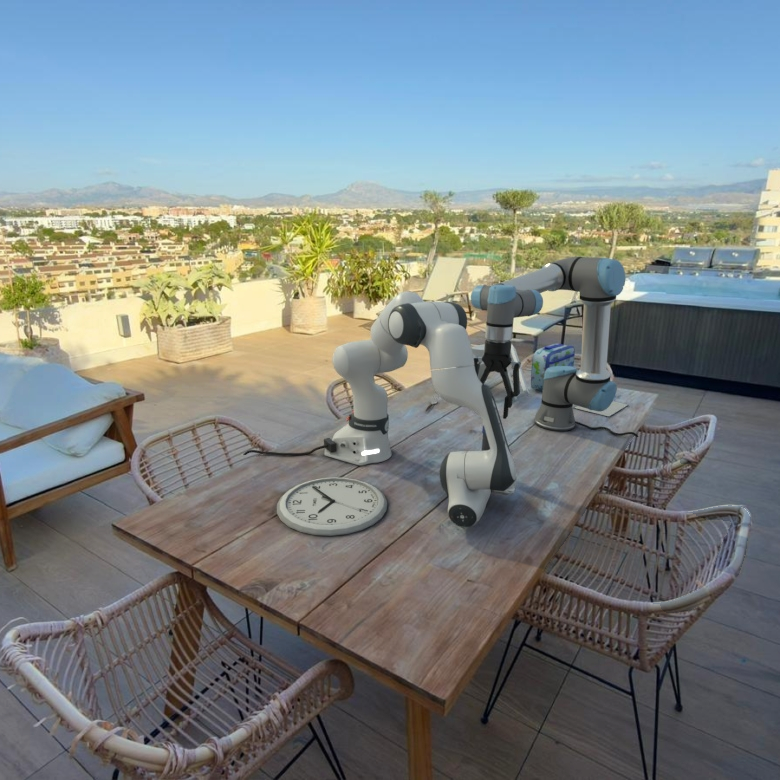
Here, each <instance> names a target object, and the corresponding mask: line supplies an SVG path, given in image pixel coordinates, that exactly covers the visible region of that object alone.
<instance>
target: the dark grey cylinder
mask: <svg viewBox="0 0 780 780" xmlns="http://www.w3.org/2000/svg"><path fill="white" fill-rule="evenodd" d="M481 440H482V441H481V451H486V450H489V449H490V446H489V442H488V439H487V435H484V434H483V433H482V439H481Z"/></svg>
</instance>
